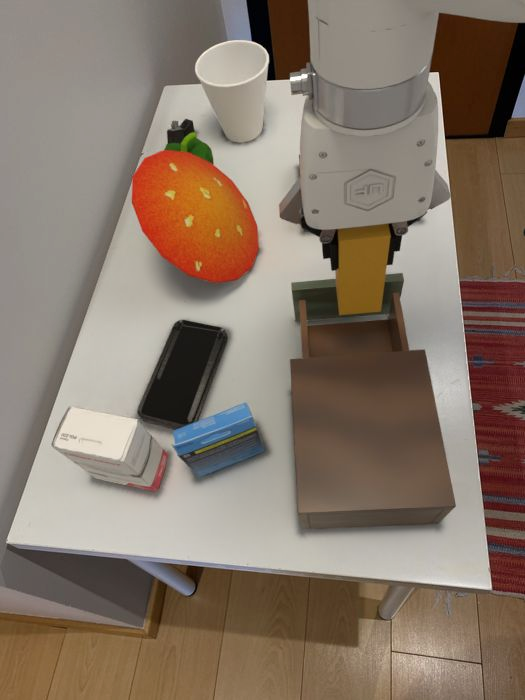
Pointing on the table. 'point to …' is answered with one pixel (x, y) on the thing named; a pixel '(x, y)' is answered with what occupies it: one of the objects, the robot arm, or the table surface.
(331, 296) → the drawer
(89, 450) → the ink box
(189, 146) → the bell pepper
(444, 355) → the table surface
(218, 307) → the table surface
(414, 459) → the cabinet
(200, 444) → the label tape box
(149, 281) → the table surface
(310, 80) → the robot arm
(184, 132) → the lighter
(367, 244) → the block
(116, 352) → the table surface
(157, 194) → the toy strawberry
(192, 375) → the phone
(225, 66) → the cup
